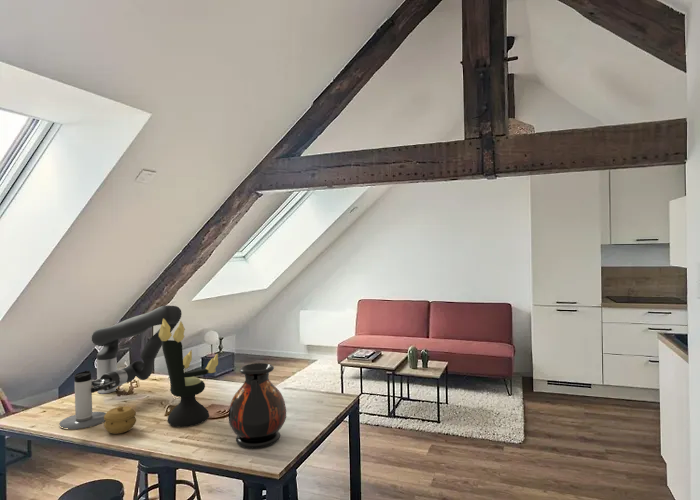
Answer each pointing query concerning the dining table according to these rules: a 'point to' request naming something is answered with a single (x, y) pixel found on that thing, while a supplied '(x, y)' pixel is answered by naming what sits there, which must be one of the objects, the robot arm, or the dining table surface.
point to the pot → (120, 419)
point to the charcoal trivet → (73, 424)
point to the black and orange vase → (257, 408)
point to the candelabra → (184, 379)
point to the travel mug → (83, 396)
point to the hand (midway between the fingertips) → (84, 389)
